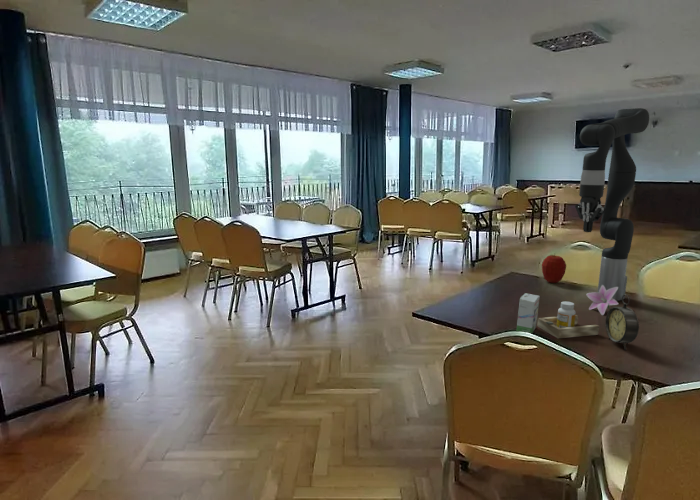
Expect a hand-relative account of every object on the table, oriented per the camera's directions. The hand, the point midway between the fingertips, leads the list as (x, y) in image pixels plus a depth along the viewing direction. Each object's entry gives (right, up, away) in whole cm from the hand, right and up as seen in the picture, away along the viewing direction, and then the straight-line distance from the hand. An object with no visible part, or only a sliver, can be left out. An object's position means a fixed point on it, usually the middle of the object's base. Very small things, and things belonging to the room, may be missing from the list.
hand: (587, 231), depth 167 cm
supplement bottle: (-13, -34, -11) cm, 38 cm away
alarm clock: (-1, -36, -22) cm, 42 cm away
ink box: (-26, -34, -11) cm, 44 cm away
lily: (+10, -30, +9) cm, 33 cm away
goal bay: (-13, -34, -11) cm, 37 cm away
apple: (+9, -22, +48) cm, 54 cm away
